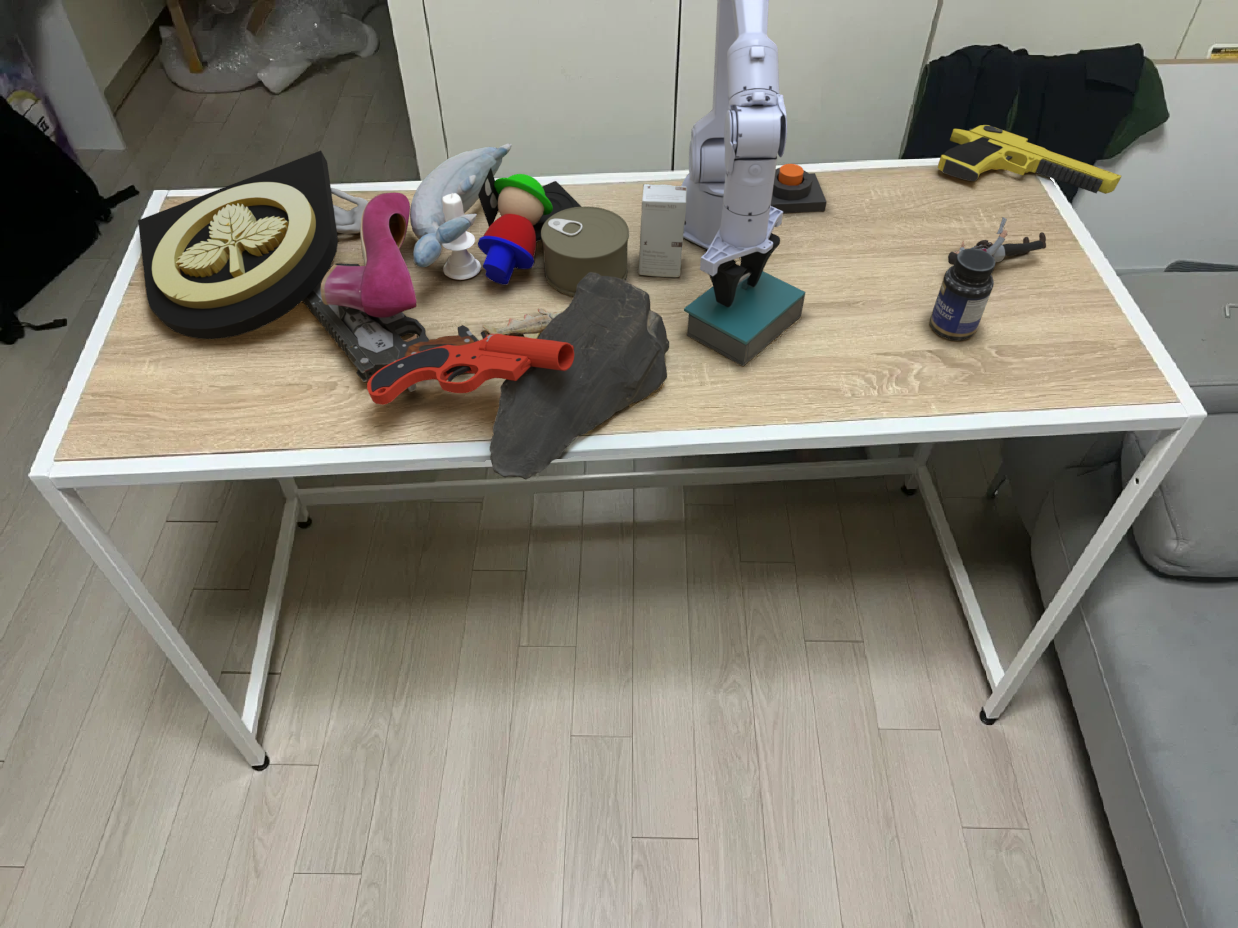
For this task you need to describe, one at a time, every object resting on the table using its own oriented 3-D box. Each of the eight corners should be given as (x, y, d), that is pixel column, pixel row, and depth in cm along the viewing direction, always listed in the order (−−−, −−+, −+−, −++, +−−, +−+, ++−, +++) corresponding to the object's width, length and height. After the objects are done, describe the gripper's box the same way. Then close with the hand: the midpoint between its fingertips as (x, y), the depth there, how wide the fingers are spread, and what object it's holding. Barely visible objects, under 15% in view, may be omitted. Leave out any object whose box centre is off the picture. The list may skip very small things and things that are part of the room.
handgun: (1096, 209, 137) (1126, 167, 145) (930, 149, 147) (966, 112, 155) (1087, 229, 139) (1117, 186, 148) (923, 169, 149) (960, 132, 157)
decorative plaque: (131, 354, 117) (128, 206, 134) (152, 375, 121) (146, 228, 137) (343, 274, 118) (313, 137, 134) (357, 297, 121) (327, 161, 138)
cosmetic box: (638, 276, 131) (639, 201, 122) (639, 257, 134) (641, 182, 125) (681, 278, 131) (686, 203, 122) (682, 258, 134) (687, 184, 125)
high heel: (386, 177, 132) (470, 186, 131) (393, 234, 137) (474, 243, 136) (309, 259, 112) (408, 270, 111) (321, 321, 118) (415, 333, 116)
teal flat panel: (683, 311, 121) (684, 288, 118) (743, 264, 127) (746, 241, 125) (746, 345, 116) (749, 322, 114) (805, 294, 123) (809, 272, 120)
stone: (568, 286, 122) (431, 450, 108) (611, 247, 112) (465, 423, 98) (655, 368, 126) (533, 537, 112) (705, 338, 115) (576, 520, 101)
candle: (455, 253, 135) (443, 179, 126) (487, 262, 133) (478, 188, 124) (436, 274, 131) (422, 200, 122) (469, 284, 130) (458, 209, 121)
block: (760, 214, 142) (762, 194, 139) (750, 185, 147) (753, 165, 144) (825, 211, 142) (828, 190, 139) (813, 182, 147) (817, 162, 145)
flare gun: (361, 406, 111) (440, 337, 119) (505, 435, 98) (582, 355, 107) (350, 385, 109) (431, 316, 118) (495, 411, 96) (574, 332, 105)
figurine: (263, 247, 140) (392, 254, 139) (245, 235, 135) (380, 243, 133) (269, 183, 141) (398, 190, 139) (252, 169, 135) (386, 176, 134)
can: (605, 308, 127) (604, 267, 122) (528, 284, 130) (524, 242, 125) (642, 260, 134) (643, 219, 129) (568, 238, 137) (566, 197, 132)
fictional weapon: (389, 261, 135) (290, 296, 128) (386, 239, 132) (285, 274, 126) (490, 367, 120) (384, 412, 113) (488, 345, 117) (380, 390, 111)
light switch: (496, 206, 136) (555, 179, 139) (501, 228, 140) (559, 202, 142) (528, 241, 131) (589, 213, 133) (533, 264, 134) (592, 236, 137)
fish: (566, 300, 125) (577, 327, 123) (566, 308, 126) (577, 335, 124) (481, 320, 123) (490, 348, 120) (482, 328, 124) (492, 356, 122)
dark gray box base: (686, 335, 123) (688, 314, 120) (745, 288, 130) (748, 267, 127) (743, 366, 119) (746, 345, 116) (801, 316, 126) (805, 295, 123)
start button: (780, 187, 141) (782, 176, 140) (776, 174, 143) (777, 163, 142) (804, 186, 141) (806, 175, 140) (799, 173, 143) (800, 162, 142)
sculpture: (537, 212, 120) (525, 157, 141) (500, 165, 116) (494, 115, 137) (429, 291, 124) (433, 227, 144) (390, 248, 120) (400, 188, 140)
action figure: (1055, 208, 129) (966, 222, 124) (1062, 257, 129) (974, 273, 125) (1008, 222, 137) (923, 236, 133) (1015, 269, 138) (931, 284, 134)
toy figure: (464, 276, 132) (501, 184, 135) (527, 297, 132) (563, 204, 135) (455, 249, 123) (495, 151, 126) (522, 271, 123) (560, 173, 126)
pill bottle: (920, 317, 125) (941, 249, 117) (960, 308, 127) (984, 240, 118) (944, 346, 122) (967, 277, 113) (985, 337, 123) (1011, 268, 115)
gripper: (737, 242, 106) (727, 333, 116) (808, 189, 113) (793, 279, 124) (689, 218, 109) (683, 309, 120) (761, 168, 117) (749, 258, 127)
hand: (736, 293), depth 122 cm, fingers closed on teal flat panel, 5 cm apart
